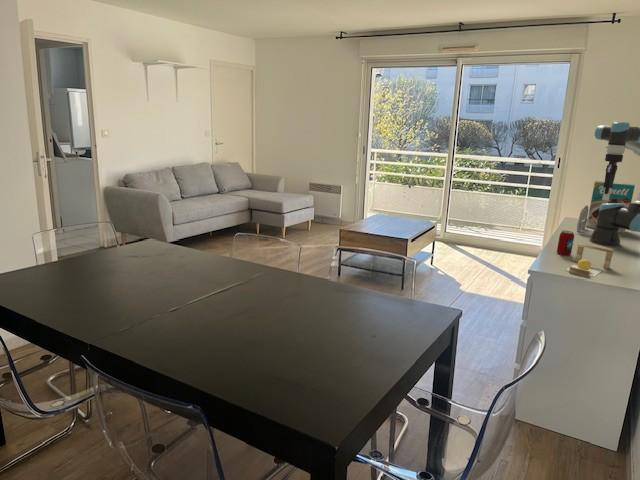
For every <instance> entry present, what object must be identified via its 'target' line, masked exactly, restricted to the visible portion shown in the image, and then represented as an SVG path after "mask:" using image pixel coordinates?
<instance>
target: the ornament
mask: <svg viewBox="0 0 640 480" xmlns="http://www.w3.org/2000/svg"><path fill="white" fill-rule="evenodd" d="M588 214H589V205H588V204H586V205H585V204H584V205H583V206H582V208H581V210H580V213H579V217H578V222H577V224H576V232H575V233H574V235H580V236H585V237H591V235H592V233H593V232H594V230H595V229H594V228H589V227H586V225H587V220H588Z"/></svg>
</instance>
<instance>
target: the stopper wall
mask: <svg viewBox="0 0 640 480" xmlns="http://www.w3.org/2000/svg"><path fill="white" fill-rule="evenodd" d="M569 268H570V270H569V271H568V273H570V274H574V275H578V276H583V277H586V278H589V277H590V276H589V274H590V271H588V270H584V269H579V268H575V267H571V266H569Z"/></svg>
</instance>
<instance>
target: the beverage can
mask: <svg viewBox="0 0 640 480" xmlns="http://www.w3.org/2000/svg"><path fill="white" fill-rule="evenodd" d="M574 240H575V233H574V231H570V230H561V232H560V233H559V236H558V243H557V248H556V253H557V254H558V255H559V256H566V257H568V256H569V255H571V254H572V251H573V247H574V246H573V245H574Z"/></svg>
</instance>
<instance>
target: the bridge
mask: <svg viewBox="0 0 640 480" xmlns="http://www.w3.org/2000/svg"><path fill="white" fill-rule="evenodd" d="M584 249H591V250H595V251H601V252H605V258H604V263H603V266H602V267H603V269H606V270H609V269H610V268H611V263H612V257H613V253H614V248H608V247H605V246H599V245H592V244H588V243H583V242H579V243H578V245H577V250H576V255H575V260H574V262H575V263H578V262H579V261H580V260H582V259H583V253H584Z"/></svg>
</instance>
